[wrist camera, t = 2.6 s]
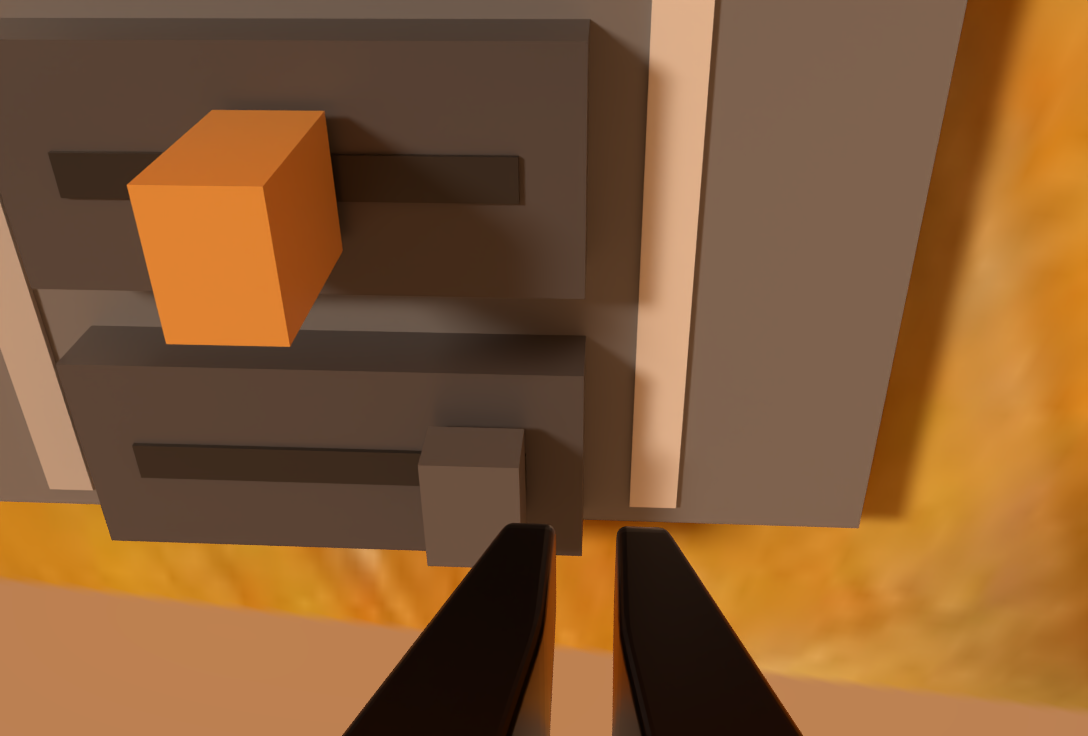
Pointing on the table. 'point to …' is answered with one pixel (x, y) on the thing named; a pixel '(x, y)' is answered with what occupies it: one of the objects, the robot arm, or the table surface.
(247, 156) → the handle
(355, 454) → the panel
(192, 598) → the table surface
